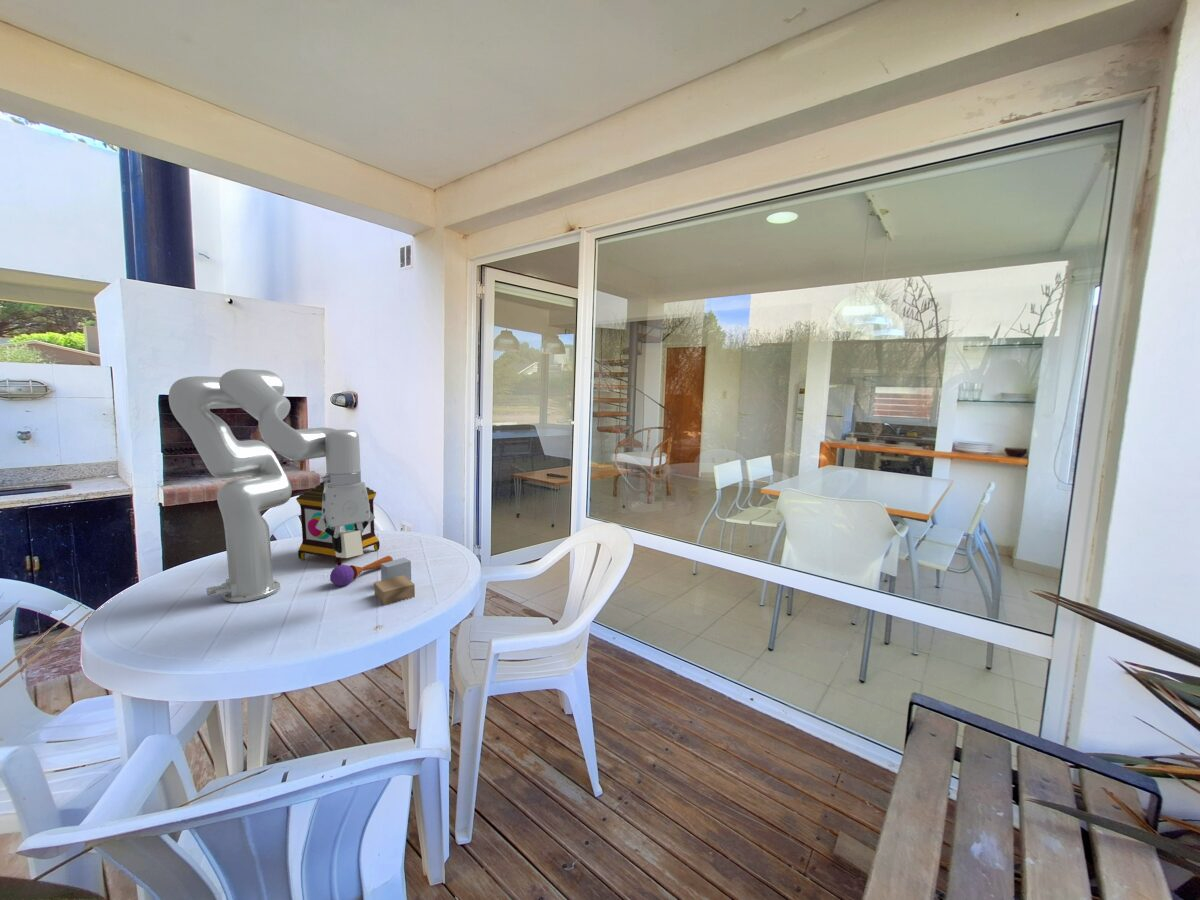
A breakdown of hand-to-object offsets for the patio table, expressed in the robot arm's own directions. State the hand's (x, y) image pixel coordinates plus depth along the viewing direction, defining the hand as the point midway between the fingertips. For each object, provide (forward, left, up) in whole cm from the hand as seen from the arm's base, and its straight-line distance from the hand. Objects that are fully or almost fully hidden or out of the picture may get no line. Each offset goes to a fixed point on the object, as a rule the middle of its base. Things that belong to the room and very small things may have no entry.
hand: (347, 548), depth 121 cm
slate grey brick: (+15, +6, -15) cm, 23 cm away
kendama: (+11, +18, -16) cm, 26 cm away
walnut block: (+10, -3, -16) cm, 19 cm away
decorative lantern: (+13, +41, -16) cm, 46 cm away
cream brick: (0, -1, -2) cm, 2 cm away
